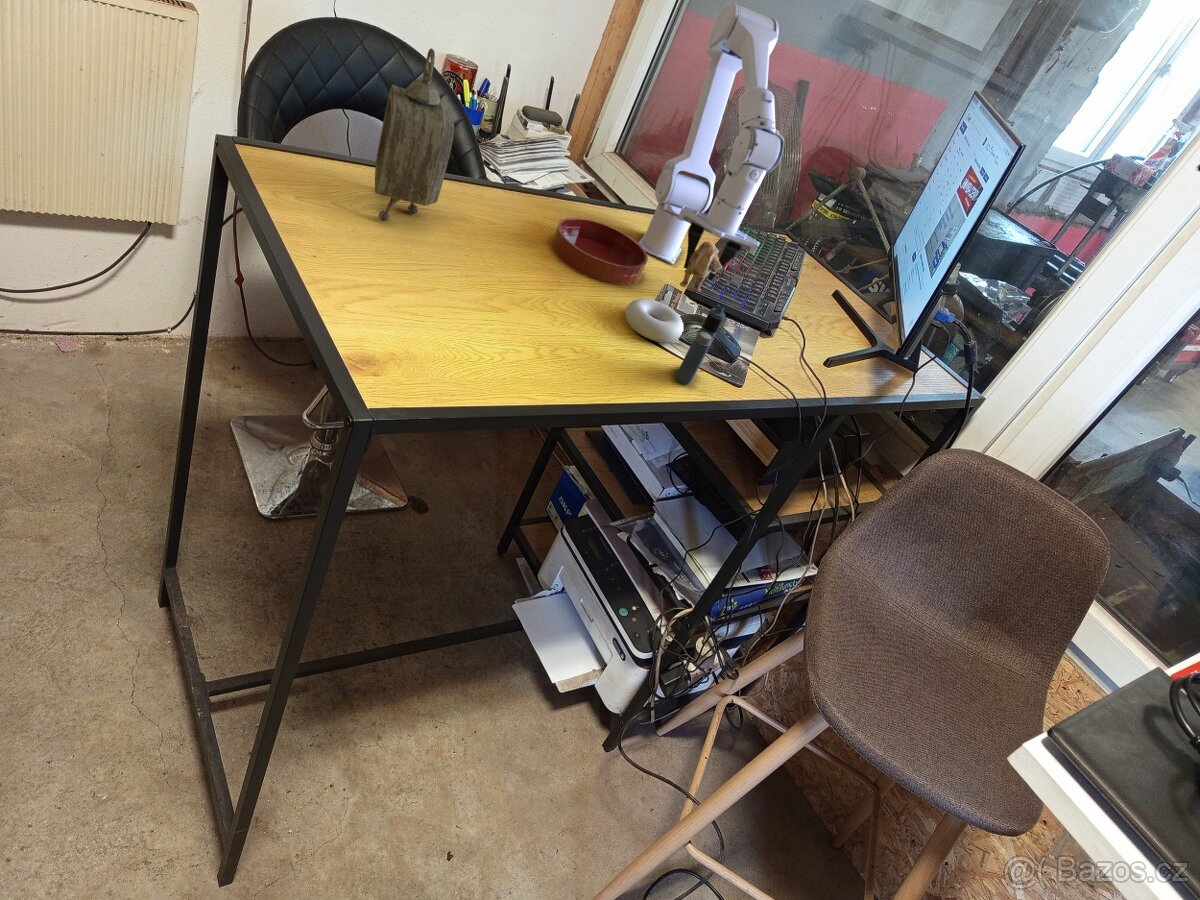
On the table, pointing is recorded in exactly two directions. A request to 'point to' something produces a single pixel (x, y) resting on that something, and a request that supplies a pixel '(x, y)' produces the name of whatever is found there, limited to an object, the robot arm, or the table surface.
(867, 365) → the table surface
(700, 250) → the lion figurine
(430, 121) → the wooden cowbell
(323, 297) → the table surface
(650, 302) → the donut
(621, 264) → the bowl
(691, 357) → the vaping device
